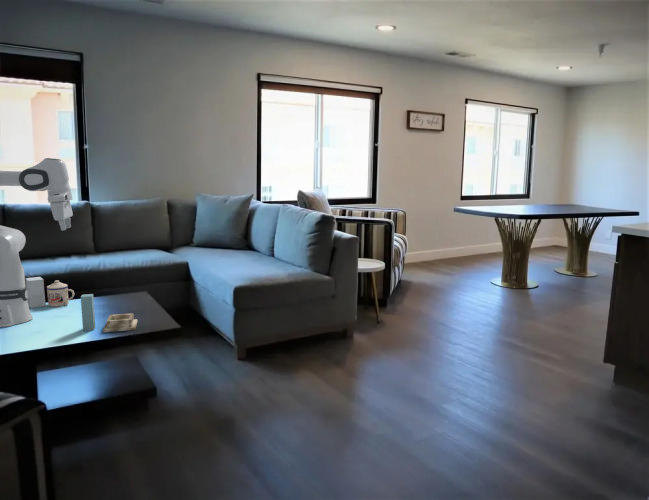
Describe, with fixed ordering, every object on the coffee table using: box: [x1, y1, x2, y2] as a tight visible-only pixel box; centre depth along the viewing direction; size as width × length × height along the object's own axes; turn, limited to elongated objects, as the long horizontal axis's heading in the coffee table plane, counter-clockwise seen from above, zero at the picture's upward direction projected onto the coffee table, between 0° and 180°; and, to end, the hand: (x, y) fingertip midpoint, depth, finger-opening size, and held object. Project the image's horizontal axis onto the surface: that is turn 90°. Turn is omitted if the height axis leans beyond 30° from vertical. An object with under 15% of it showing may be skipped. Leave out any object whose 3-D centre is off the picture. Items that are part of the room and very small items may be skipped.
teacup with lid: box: [46, 279, 75, 308], centre depth 242 cm, size 12×9×12 cm
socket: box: [102, 312, 138, 333], centre depth 209 cm, size 12×12×4 cm
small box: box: [25, 276, 46, 309], centre depth 240 cm, size 8×6×13 cm
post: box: [80, 293, 96, 332], centre depth 205 cm, size 4×4×14 cm
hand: (66, 229), depth 217 cm, fingers open, 8 cm apart
